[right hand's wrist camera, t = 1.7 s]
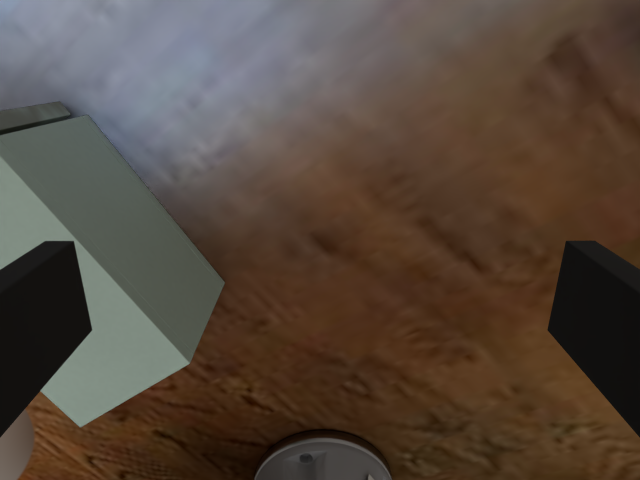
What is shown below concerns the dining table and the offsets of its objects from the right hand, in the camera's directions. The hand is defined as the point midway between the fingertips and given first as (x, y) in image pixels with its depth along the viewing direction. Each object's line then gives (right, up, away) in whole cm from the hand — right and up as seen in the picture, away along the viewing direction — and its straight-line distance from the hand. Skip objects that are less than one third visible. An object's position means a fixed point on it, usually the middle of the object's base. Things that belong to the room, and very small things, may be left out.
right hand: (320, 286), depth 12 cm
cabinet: (-18, +2, +28) cm, 33 cm away
